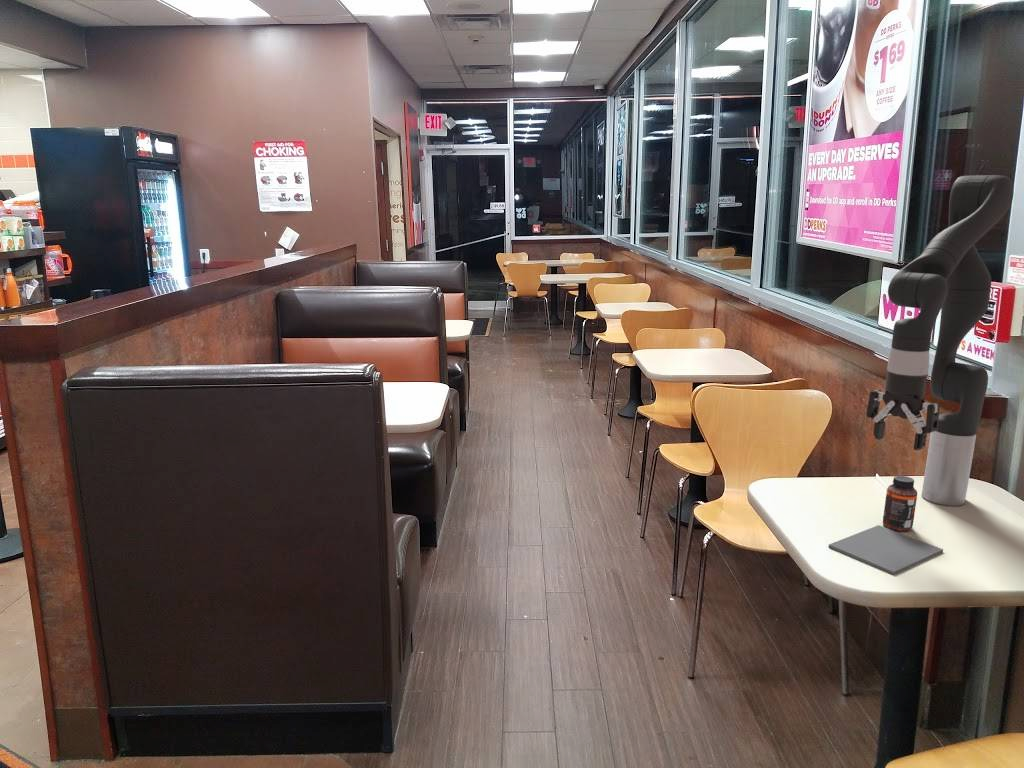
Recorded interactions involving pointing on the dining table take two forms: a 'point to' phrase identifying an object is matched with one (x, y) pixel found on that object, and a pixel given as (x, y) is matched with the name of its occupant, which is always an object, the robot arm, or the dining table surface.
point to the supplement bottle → (900, 504)
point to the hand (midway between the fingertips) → (898, 444)
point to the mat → (886, 549)
